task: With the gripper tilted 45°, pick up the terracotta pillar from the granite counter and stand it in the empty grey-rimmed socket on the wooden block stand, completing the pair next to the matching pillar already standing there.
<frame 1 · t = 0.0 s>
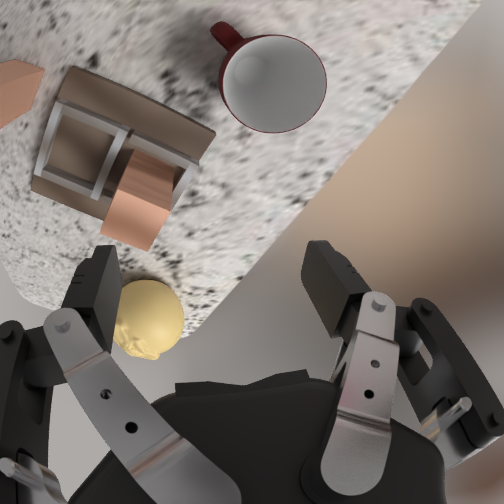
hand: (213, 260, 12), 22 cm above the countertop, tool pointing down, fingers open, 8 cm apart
wooden block stand: (112, 156, 29), on the countertop
mug: (242, 63, 25), on the countertop
pillar: (22, 84, 19), on the countertop
sculpture: (146, 294, 45), on the countertop
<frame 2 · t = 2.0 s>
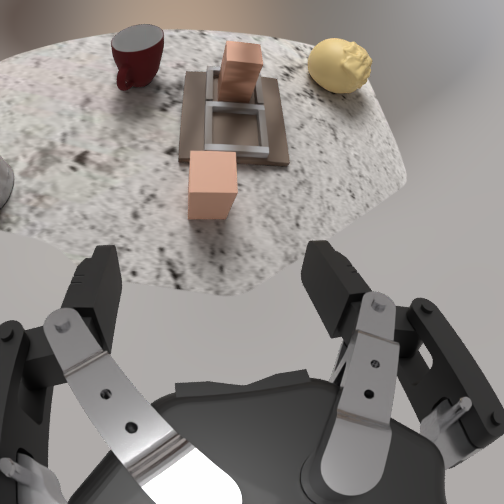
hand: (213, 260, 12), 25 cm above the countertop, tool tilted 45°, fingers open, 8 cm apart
wooden block stand: (232, 115, 42), on the countertop
mug: (138, 85, 40), on the countertop
pillar: (206, 201, 38), on the countertop
sculpture: (328, 81, 49), on the countertop
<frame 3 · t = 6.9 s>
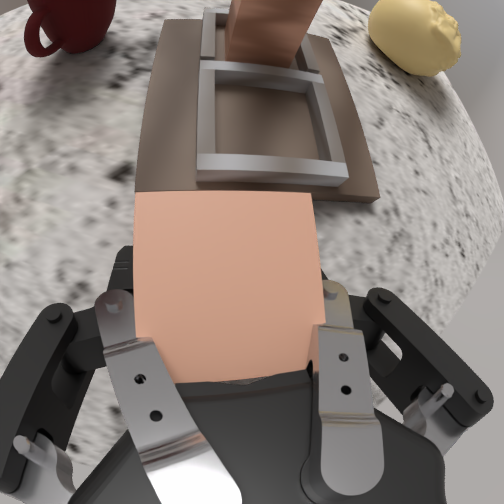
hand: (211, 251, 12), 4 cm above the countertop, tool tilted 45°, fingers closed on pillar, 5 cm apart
wooden block stand: (255, 93, 20), on the countertop
mug: (79, 50, 18), on the countertop
pillar: (207, 299, 16), on the countertop, touching gripper
sculpture: (396, 56, 27), on the countertop
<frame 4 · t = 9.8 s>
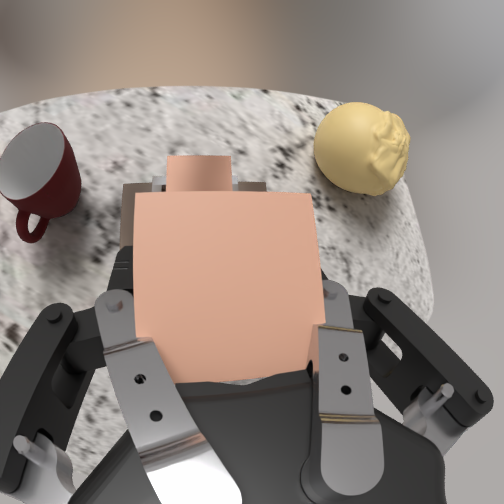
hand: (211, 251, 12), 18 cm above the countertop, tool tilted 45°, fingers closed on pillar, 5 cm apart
wooden block stand: (196, 265, 30), on the countertop
mug: (62, 209, 28), on the countertop
pillar: (207, 299, 16), point 14 cm above the countertop, touching gripper
sculpture: (343, 165, 37), on the countertop
when the fingers open (7 cm above the countertop, at t = 12.7 s): pillar drops 2 cm, resting on wooden block stand.
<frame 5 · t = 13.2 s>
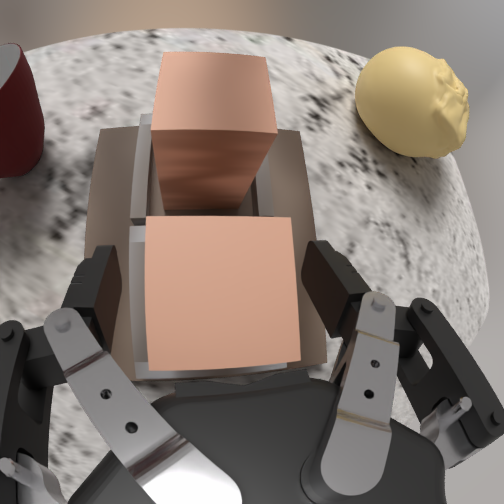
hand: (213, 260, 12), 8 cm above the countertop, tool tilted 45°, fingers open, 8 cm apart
wooden block stand: (201, 242, 20), on the countertop
mug: (21, 169, 18), on the countertop
pillar: (205, 301, 18), point 1 cm above the countertop, touching wooden block stand
sculpture: (387, 126, 27), on the countertop
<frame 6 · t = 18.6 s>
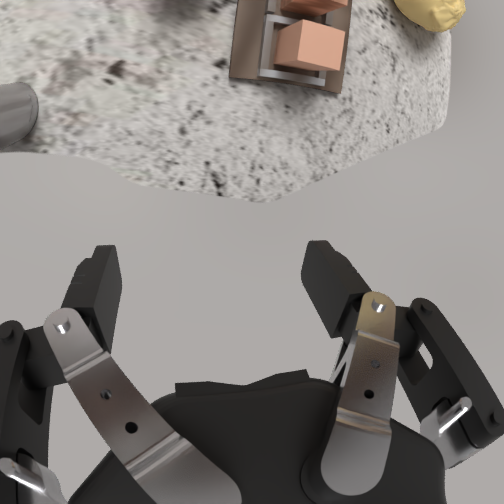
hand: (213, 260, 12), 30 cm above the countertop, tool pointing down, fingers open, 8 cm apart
wooden block stand: (293, 26, 30), on the countertop
pillar: (293, 50, 31), point 1 cm above the countertop, touching wooden block stand
sculpture: (408, 1, 27), on the countertop
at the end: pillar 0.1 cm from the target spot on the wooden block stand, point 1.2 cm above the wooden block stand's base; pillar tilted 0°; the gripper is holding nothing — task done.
